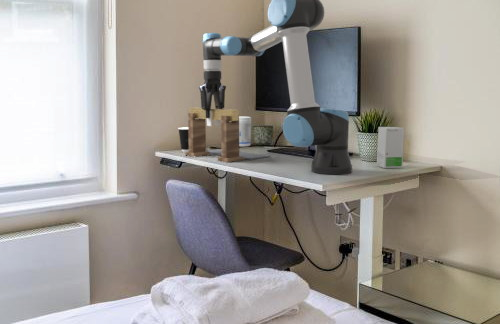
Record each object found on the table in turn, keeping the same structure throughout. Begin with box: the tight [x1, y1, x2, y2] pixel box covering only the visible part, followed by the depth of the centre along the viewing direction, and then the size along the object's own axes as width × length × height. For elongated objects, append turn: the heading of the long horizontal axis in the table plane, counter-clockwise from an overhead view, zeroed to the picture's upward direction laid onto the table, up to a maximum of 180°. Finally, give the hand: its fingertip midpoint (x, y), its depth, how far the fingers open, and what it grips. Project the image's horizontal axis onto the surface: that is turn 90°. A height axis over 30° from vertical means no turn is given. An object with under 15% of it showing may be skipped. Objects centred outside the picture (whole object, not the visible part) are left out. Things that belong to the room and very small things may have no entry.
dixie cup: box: [177, 126, 189, 153], centre depth 260 cm, size 8×8×11 cm
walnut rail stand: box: [184, 112, 244, 163], centre depth 238 cm, size 28×9×19 cm, turn 45°
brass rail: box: [189, 106, 239, 122], centre depth 236 cm, size 28×4×4 cm, turn 45°
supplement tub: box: [239, 115, 252, 148], centre depth 279 cm, size 10×10×15 cm
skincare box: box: [376, 126, 405, 169], centre depth 214 cm, size 8×7×16 cm
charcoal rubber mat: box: [207, 148, 271, 161], centre depth 248 cm, size 32×12×1 cm, turn 45°
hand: (213, 125), depth 237 cm, fingers closed on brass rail, 3 cm apart
